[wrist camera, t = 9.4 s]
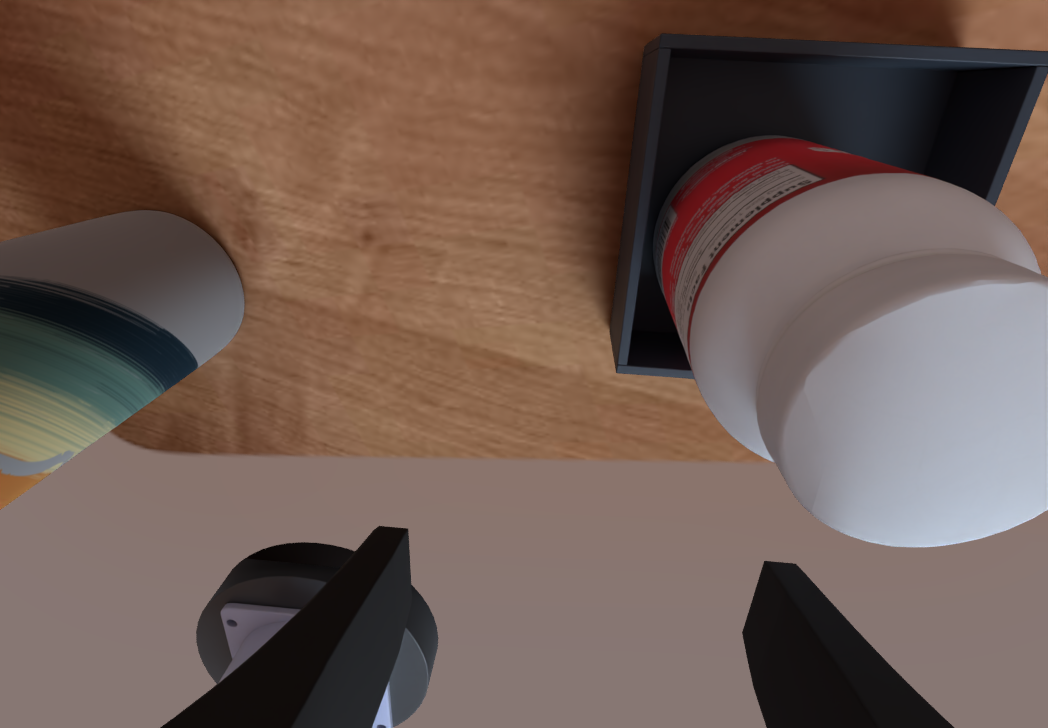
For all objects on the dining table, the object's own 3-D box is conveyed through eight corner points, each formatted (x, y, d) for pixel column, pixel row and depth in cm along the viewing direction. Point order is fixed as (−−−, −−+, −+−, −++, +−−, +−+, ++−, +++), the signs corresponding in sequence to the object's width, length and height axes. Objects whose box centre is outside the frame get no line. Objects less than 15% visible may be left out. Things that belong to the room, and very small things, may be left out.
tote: (865, 350, 20) (919, 396, 17) (609, 332, 20) (615, 373, 17) (963, 60, 16) (1057, 51, 13) (643, 45, 16) (660, 32, 13)
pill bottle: (888, 246, 18) (1271, 463, 8) (719, 357, 20) (854, 632, 10) (783, 82, 16) (1110, 100, 6) (610, 224, 18) (647, 404, 8)
